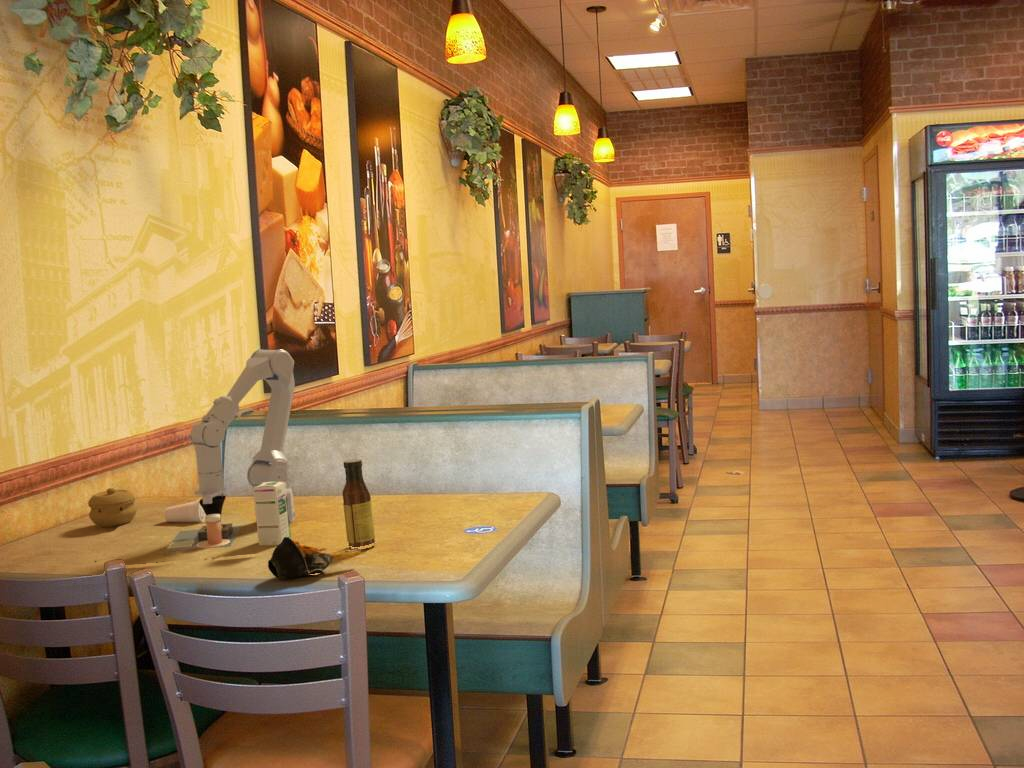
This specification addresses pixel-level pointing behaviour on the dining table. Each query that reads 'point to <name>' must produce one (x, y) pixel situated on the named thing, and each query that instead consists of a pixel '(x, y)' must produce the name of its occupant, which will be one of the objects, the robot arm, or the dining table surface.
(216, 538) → the terracotta marker
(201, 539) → the button collar
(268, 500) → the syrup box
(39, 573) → the dining table surface
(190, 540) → the picture board
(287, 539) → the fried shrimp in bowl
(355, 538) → the sauce bottle
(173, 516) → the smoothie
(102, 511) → the pot
